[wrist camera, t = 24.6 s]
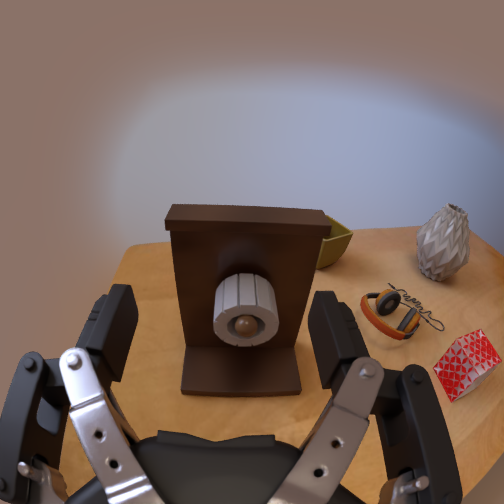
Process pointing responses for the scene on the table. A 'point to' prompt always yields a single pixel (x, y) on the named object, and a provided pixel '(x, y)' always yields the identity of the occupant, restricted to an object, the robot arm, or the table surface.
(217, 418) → the table surface
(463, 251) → the vase
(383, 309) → the headphones
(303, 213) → the rack
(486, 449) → the table surface
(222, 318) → the grey faceted tube
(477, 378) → the red patterned cube
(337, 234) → the flower pot
